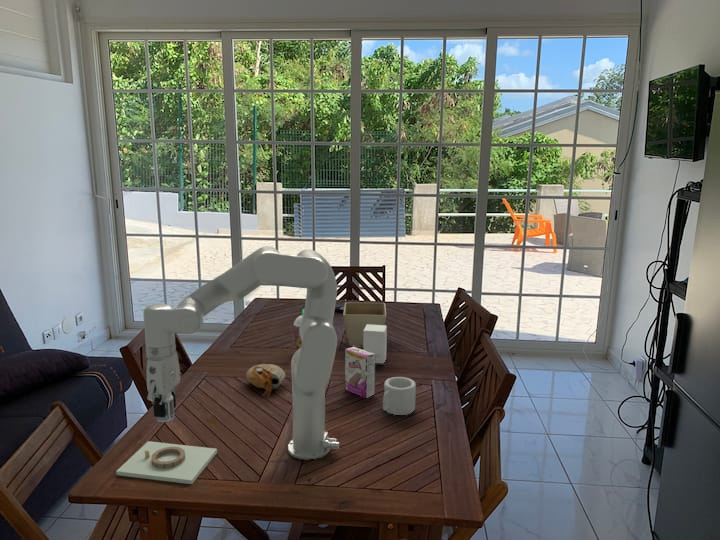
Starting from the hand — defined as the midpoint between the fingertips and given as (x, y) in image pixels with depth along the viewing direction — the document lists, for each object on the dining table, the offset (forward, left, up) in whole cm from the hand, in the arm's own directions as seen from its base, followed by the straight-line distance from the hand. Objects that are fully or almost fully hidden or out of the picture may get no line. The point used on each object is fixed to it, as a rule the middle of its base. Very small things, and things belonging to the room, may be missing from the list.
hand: (165, 411), depth 153 cm
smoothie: (-14, -91, -16) cm, 93 cm away
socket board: (0, 0, -16) cm, 16 cm away
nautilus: (-10, -53, -16) cm, 56 cm away
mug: (-60, -45, -16) cm, 77 cm away
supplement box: (-46, -88, -16) cm, 101 cm away
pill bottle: (0, 0, -2) cm, 2 cm away
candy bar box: (-45, -56, -16) cm, 74 cm away
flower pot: (-38, -109, -16) cm, 117 cm away
